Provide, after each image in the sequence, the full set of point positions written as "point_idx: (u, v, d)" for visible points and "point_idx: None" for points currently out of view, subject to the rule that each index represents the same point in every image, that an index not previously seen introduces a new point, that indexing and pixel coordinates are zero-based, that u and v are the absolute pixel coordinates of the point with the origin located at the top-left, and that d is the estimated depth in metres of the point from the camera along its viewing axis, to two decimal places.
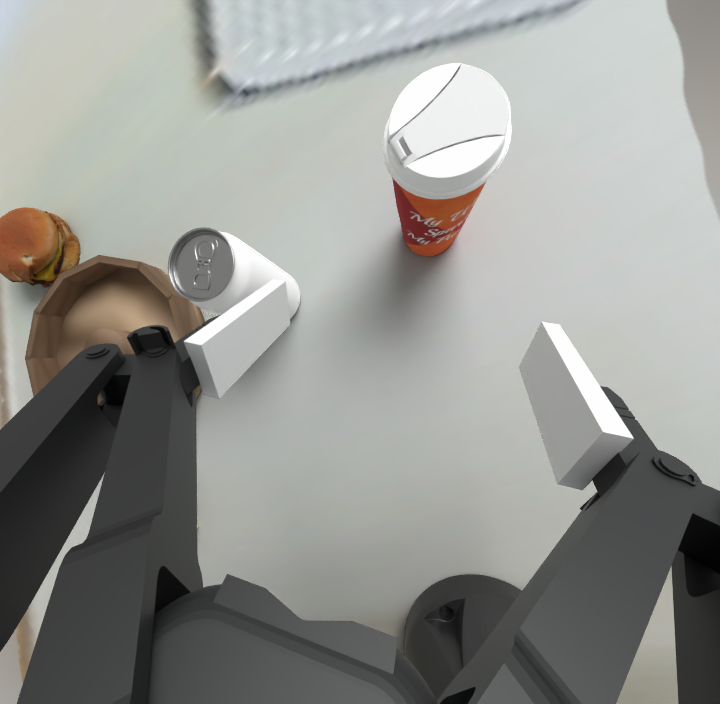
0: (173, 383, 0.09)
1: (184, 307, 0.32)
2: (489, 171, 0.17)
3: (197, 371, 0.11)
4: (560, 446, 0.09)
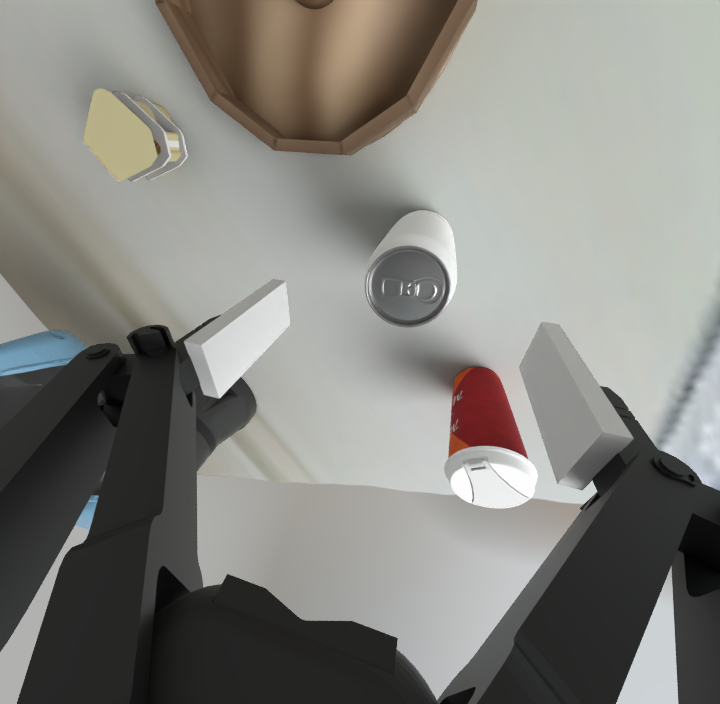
0: (173, 383, 0.09)
1: (397, 121, 0.21)
2: None
3: (197, 371, 0.11)
4: (560, 446, 0.10)
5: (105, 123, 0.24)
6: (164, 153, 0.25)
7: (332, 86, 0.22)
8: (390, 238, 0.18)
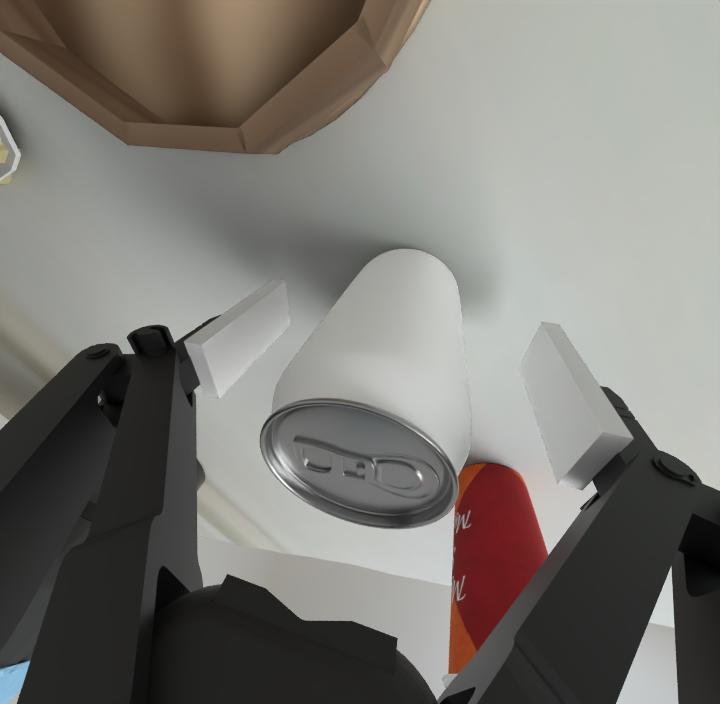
0: (173, 383, 0.09)
1: (348, 84, 0.10)
2: None
3: (197, 371, 0.11)
4: (560, 446, 0.09)
5: None
6: None
7: (226, 20, 0.11)
8: (314, 353, 0.08)
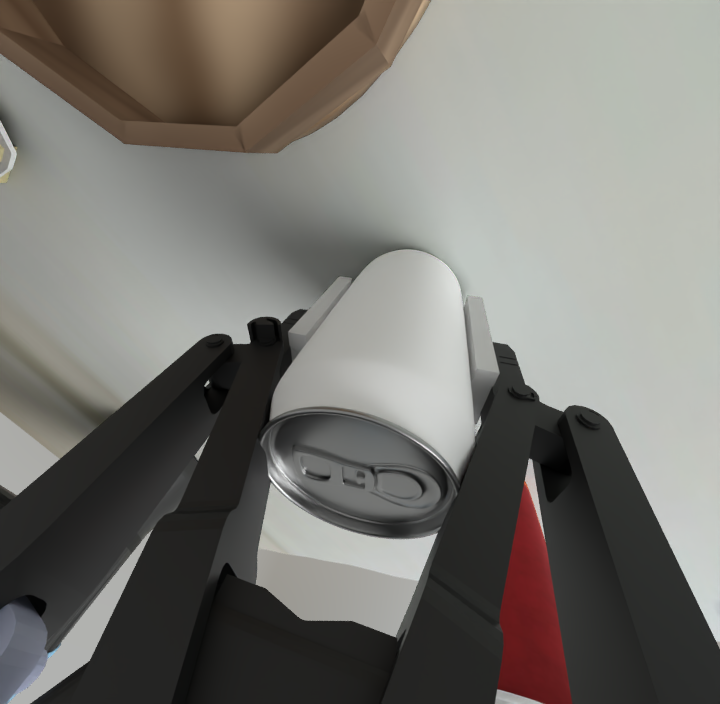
0: (273, 375, 0.09)
1: (349, 81, 0.10)
2: None
3: None
4: None
5: None
6: None
7: (224, 15, 0.11)
8: (312, 358, 0.07)
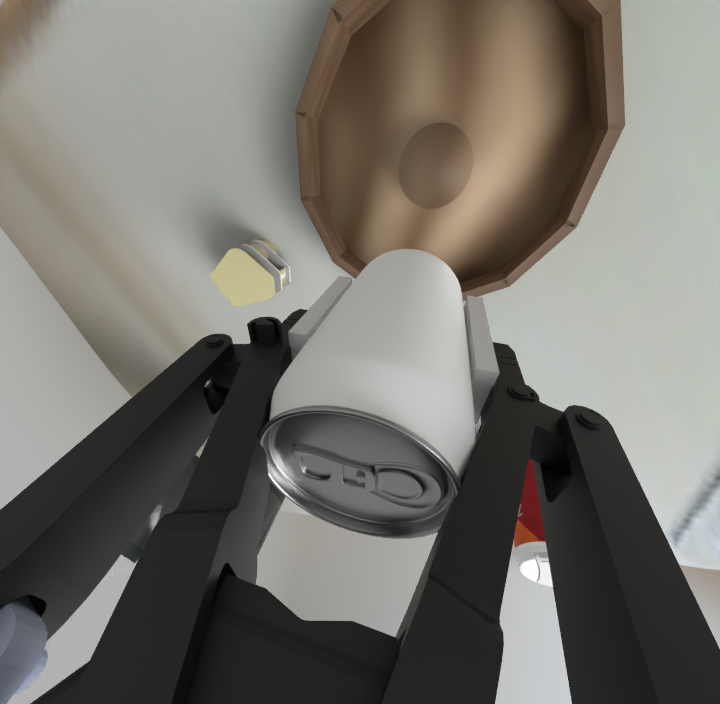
0: (273, 375, 0.09)
1: None
2: None
3: None
4: None
5: (234, 269, 0.29)
6: (277, 287, 0.30)
7: (434, 252, 0.27)
8: (312, 357, 0.07)
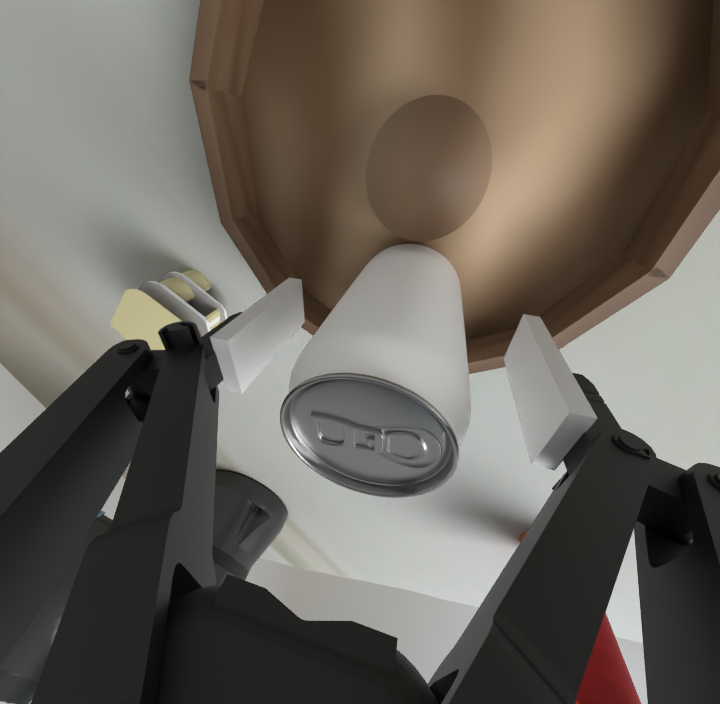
0: (198, 379, 0.09)
1: None
2: None
3: (221, 366, 0.11)
4: (535, 429, 0.10)
5: (138, 316, 0.20)
6: None
7: None
8: (329, 336, 0.09)
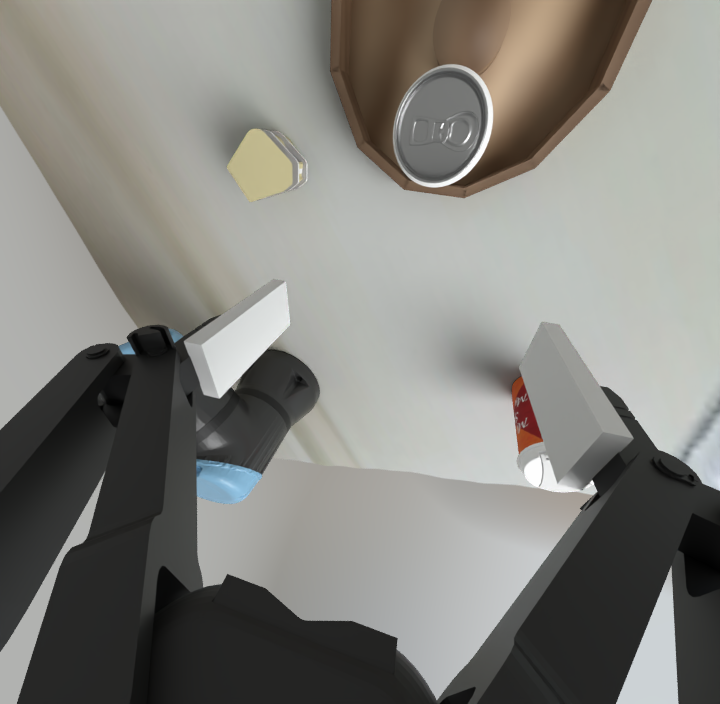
0: (173, 383, 0.09)
1: None
2: None
3: (197, 371, 0.11)
4: (560, 446, 0.10)
5: (252, 155, 0.29)
6: (294, 179, 0.30)
7: None
8: None
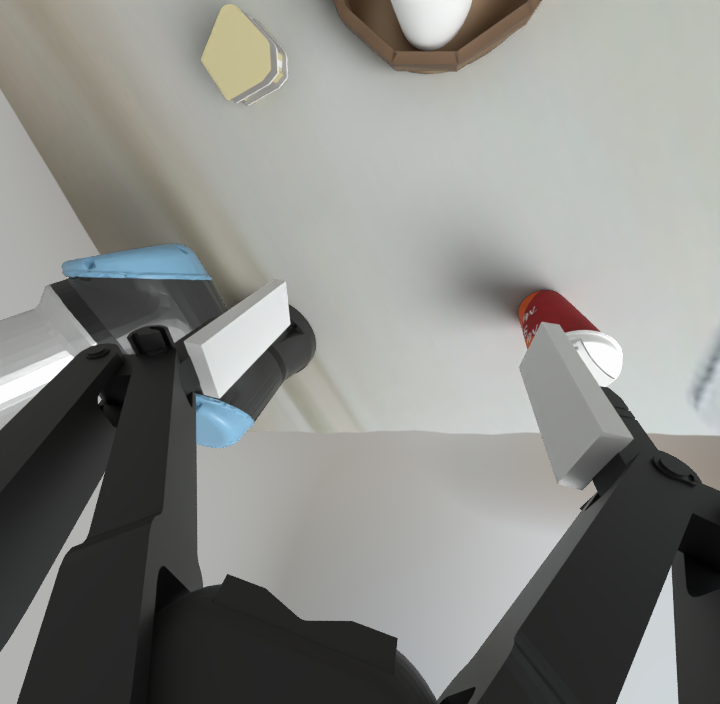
0: (173, 383, 0.09)
1: (511, 30, 0.24)
2: None
3: (197, 371, 0.11)
4: (560, 446, 0.09)
5: (226, 39, 0.27)
6: (273, 69, 0.28)
7: None
8: None
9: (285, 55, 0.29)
